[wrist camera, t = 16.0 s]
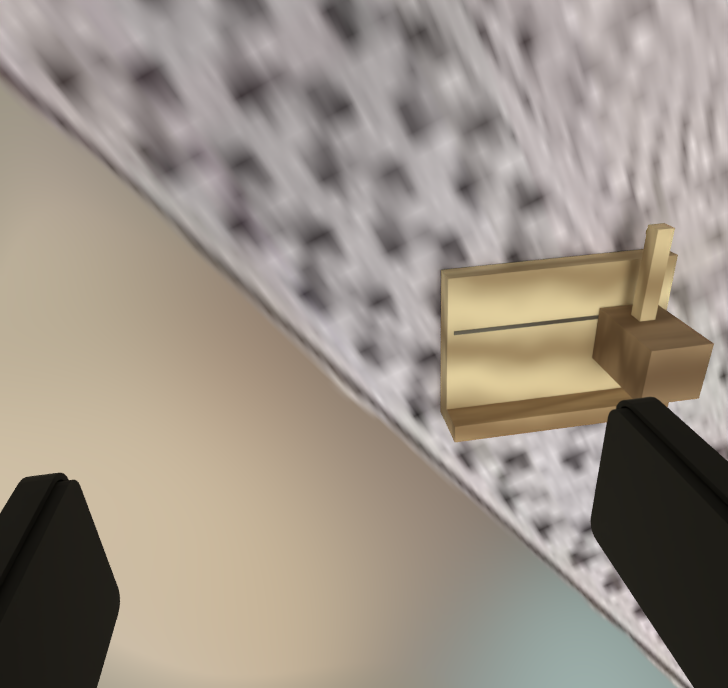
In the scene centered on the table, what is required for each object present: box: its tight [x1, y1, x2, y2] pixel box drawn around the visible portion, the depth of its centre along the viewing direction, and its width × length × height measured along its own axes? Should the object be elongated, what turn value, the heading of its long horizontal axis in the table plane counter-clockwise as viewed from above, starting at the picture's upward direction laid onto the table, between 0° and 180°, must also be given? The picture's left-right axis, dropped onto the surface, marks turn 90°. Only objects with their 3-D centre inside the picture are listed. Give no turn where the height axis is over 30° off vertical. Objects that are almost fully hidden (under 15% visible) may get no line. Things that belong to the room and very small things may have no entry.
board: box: [441, 249, 678, 442], centre depth 45 cm, size 13×18×4 cm
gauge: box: [592, 223, 714, 403], centre depth 41 cm, size 12×4×7 cm, turn 4°
